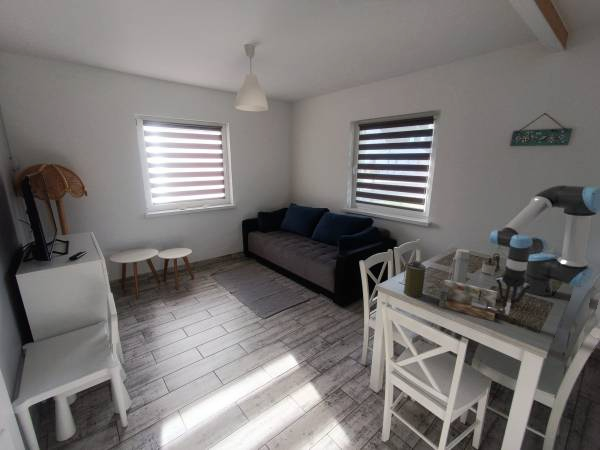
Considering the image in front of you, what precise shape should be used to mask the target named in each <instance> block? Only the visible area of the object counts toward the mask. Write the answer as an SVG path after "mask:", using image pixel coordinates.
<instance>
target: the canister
mask: <svg viewBox="0 0 600 450" xmlns="http://www.w3.org/2000/svg"><path fill="white" fill-rule="evenodd" d="M404 269H405V272H404V274H403V279H404V286H403V287H404V288H403V294H404V295H405V296H407V297H410V298H414V299H419V298H422V297H423V296H424V294H423V292H424V291H423V290H424V283H425V276H426V275H425V274H426V269H427V266H425V265H424V264H423V263H422V262H421V261H419V260H415V259H414V261H413V262H406V263H405V265H404Z"/></svg>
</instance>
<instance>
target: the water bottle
mask: <svg viewBox="0 0 600 450" xmlns="http://www.w3.org/2000/svg"><path fill="white" fill-rule="evenodd" d="M469 262H470V250H468V249H464V248H457V249H456V252H455V255H454V256H453V261H452V264H451V267H450V271H449V274H448V278H450V277H451V279H449V281H452V282H457V283H461V284H466V281H467V276H468V275H467V274H468V267H469Z"/></svg>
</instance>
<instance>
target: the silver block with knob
mask: <svg viewBox="0 0 600 450" xmlns="http://www.w3.org/2000/svg"><path fill="white" fill-rule="evenodd" d="M480 297H481V290H480V294H479V299H475V298H472V303H471V308H475V309H479V310H483V311H485V309H489V310H493V311H494V312H498V313H499V315H501V316H503V317H504V316H505V315H506V314H505V307H503V306H502V307H500V308H492V307H488V306H486V301H483V300H480Z"/></svg>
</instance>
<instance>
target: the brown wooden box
mask: <svg viewBox="0 0 600 450" xmlns="http://www.w3.org/2000/svg"><path fill="white" fill-rule="evenodd" d="M480 290H481V297H480V300H483V301H486V306H488V307H492V308H495V306H496V302H497V298H498V291H497V290H496V291H495V290H492V289H487V288H484V287H483V288H482V287H478V286H475V285H470V284H467V283H465V284H461V283H457V282H452V281H450V280H449V279H443V285H442V287H441V291H440V297H439V302H438V304H439V305H438V306H439V307H441V308H445V309H448V310H452V311H455V312H458V313H459V312H460V313H463V314H466V315H471V316H474V317H477V318H481V319H485V320H488V321H492V322H494V321H495V316H496V313H495V311H493V310H489V309H485V311H483V310H479V309H475V308H471V303H472V298H475V299H479V294H480Z"/></svg>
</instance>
